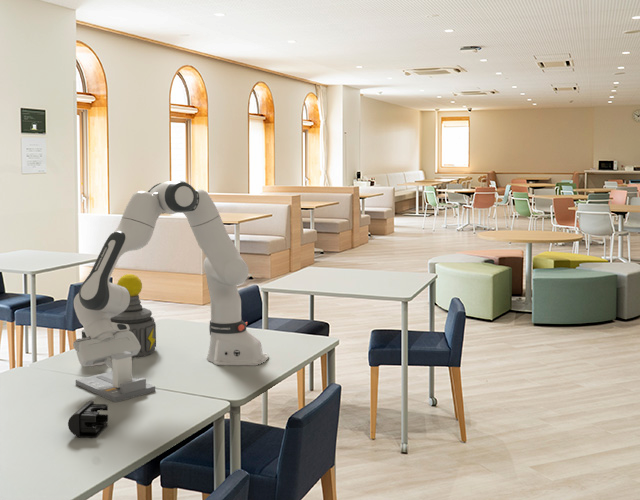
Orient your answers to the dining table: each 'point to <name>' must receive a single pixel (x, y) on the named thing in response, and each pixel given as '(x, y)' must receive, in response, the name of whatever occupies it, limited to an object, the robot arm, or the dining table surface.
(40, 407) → the dining table surface
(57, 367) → the dining table surface
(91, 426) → the end cap
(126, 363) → the fader tab
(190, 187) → the robot arm
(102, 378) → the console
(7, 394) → the dining table surface
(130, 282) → the decorative lamp
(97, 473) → the dining table surface
